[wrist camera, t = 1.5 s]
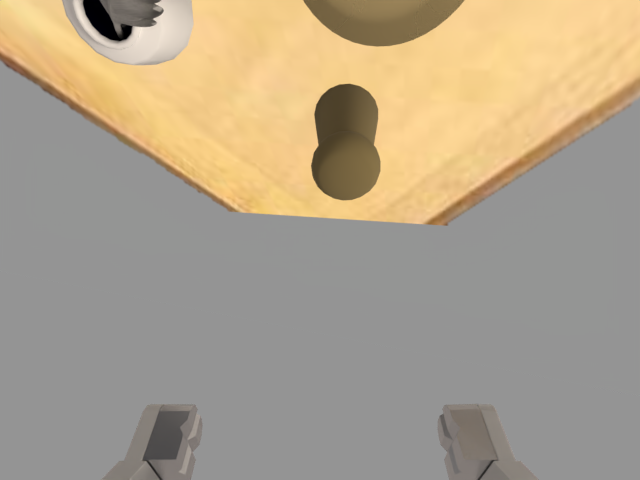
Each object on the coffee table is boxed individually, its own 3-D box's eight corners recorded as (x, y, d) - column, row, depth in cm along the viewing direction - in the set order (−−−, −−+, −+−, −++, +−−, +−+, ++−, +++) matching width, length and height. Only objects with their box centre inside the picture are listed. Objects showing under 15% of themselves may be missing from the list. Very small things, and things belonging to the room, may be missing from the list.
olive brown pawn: (389, 126, 35) (402, 191, 27) (335, 156, 37) (331, 224, 29) (359, 69, 32) (362, 123, 23) (301, 106, 34) (286, 166, 26)
